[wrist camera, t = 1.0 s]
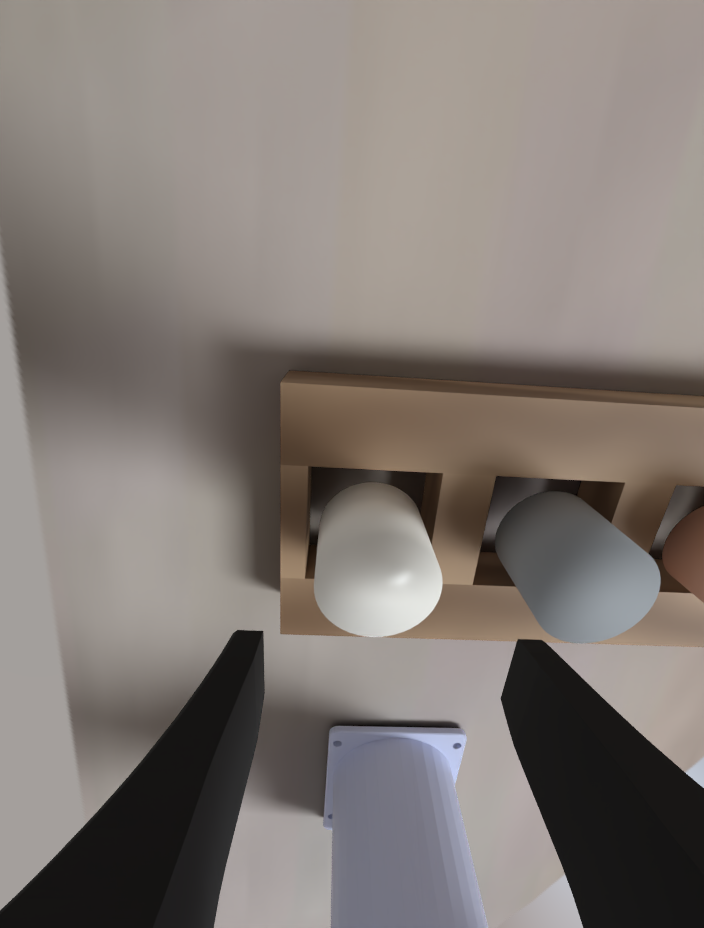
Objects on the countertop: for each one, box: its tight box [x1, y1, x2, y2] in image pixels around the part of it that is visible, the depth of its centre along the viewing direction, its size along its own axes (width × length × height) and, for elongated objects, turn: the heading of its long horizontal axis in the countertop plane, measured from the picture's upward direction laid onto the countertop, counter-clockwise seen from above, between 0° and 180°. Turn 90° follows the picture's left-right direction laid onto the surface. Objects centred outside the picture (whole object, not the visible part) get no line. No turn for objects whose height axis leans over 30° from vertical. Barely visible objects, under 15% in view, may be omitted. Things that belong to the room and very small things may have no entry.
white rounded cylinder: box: [314, 482, 443, 637], centre depth 14 cm, size 4×4×4 cm
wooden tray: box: [280, 370, 704, 647], centre depth 17 cm, size 11×21×2 cm, turn 86°
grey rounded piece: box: [495, 491, 661, 643], centre depth 15 cm, size 4×4×4 cm
